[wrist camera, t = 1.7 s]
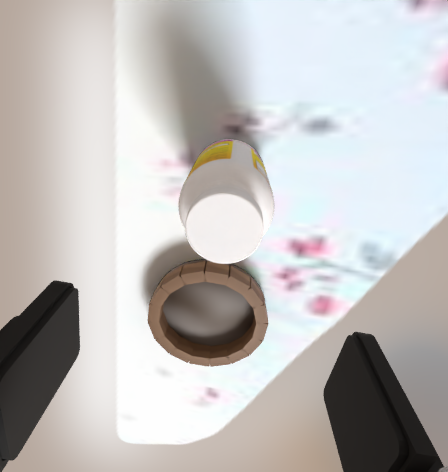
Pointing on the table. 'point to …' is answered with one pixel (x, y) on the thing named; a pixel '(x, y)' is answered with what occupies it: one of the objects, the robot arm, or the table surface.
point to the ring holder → (208, 313)
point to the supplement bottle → (226, 202)
